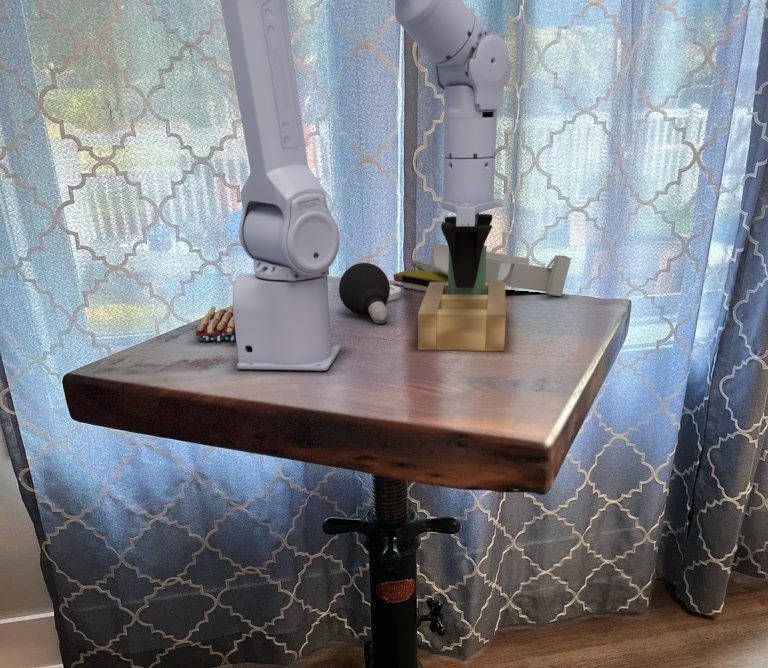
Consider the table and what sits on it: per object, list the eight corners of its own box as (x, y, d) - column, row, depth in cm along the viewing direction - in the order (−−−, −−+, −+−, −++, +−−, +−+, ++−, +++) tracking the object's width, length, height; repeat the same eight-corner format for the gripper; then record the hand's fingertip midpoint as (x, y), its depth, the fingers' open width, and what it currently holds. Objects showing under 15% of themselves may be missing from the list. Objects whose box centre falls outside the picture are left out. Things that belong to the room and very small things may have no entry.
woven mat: (191, 326, 88) (194, 344, 89) (285, 323, 88) (287, 340, 89) (206, 305, 97) (209, 322, 98) (292, 302, 98) (293, 318, 99)
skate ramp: (521, 279, 118) (530, 244, 116) (561, 296, 106) (571, 258, 104) (429, 265, 113) (436, 228, 111) (459, 281, 102) (468, 241, 100)
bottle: (446, 311, 93) (448, 217, 88) (448, 303, 96) (450, 212, 92) (484, 311, 92) (487, 217, 87) (484, 303, 96) (488, 212, 91)
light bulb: (368, 294, 91) (340, 249, 97) (352, 340, 95) (326, 295, 101) (415, 299, 94) (385, 256, 100) (398, 343, 98) (370, 299, 104)
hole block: (417, 349, 85) (417, 313, 83) (429, 313, 100) (429, 281, 98) (504, 351, 84) (505, 314, 82) (503, 314, 99) (504, 282, 97)
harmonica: (408, 267, 116) (409, 281, 117) (392, 272, 115) (394, 286, 116) (480, 279, 106) (481, 294, 107) (464, 284, 105) (465, 299, 106)
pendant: (411, 290, 108) (411, 296, 109) (368, 278, 116) (368, 283, 117) (368, 298, 105) (368, 304, 105) (327, 285, 113) (327, 290, 113)
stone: (436, 286, 114) (467, 286, 116) (437, 272, 113) (468, 272, 115) (406, 270, 125) (435, 270, 126) (406, 257, 124) (436, 257, 125)
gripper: (506, 161, 80) (500, 296, 86) (505, 153, 92) (499, 271, 99) (437, 162, 81) (436, 295, 87) (445, 154, 93) (443, 271, 100)
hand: (465, 282), depth 93 cm, fingers closed on bottle, 4 cm apart
